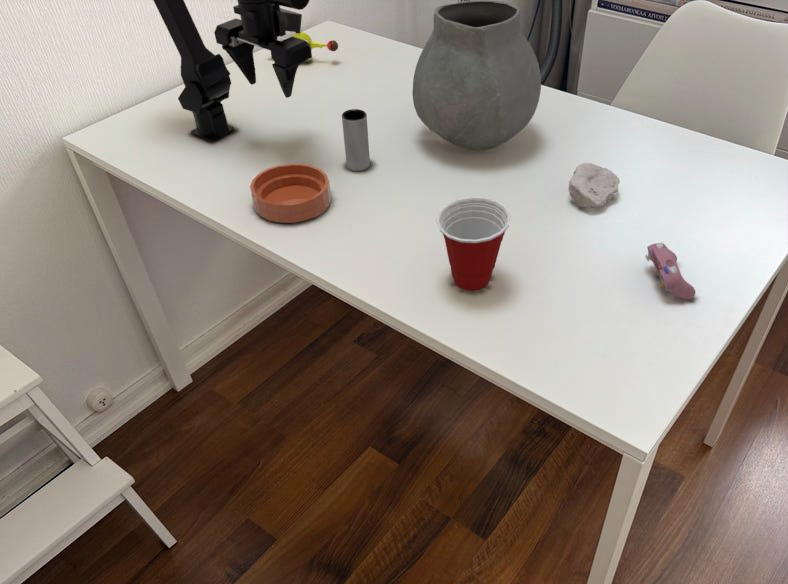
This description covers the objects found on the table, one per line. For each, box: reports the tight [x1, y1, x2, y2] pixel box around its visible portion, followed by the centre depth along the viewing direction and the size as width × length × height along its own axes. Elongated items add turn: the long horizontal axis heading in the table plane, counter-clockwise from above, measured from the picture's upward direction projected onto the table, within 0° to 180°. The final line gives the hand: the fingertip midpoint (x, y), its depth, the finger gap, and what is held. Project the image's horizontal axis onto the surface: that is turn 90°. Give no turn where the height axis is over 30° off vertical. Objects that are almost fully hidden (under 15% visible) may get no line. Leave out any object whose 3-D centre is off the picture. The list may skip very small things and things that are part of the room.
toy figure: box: [292, 31, 339, 64], centre depth 161 cm, size 18×6×7 cm, turn 80°
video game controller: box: [645, 241, 696, 300], centre depth 103 cm, size 10×5×7 cm, turn 5°
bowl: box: [249, 163, 332, 224], centre depth 119 cm, size 14×14×4 cm
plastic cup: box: [435, 196, 512, 292], centre depth 101 cm, size 11×11×12 cm
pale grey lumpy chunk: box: [568, 162, 621, 209], centre depth 120 cm, size 9×6×10 cm
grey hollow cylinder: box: [341, 108, 371, 172], centre depth 126 cm, size 4×4×10 cm
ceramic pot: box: [411, 0, 542, 151], centre depth 128 cm, size 24×24×25 cm
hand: (270, 90), depth 123 cm, fingers open, 9 cm apart
